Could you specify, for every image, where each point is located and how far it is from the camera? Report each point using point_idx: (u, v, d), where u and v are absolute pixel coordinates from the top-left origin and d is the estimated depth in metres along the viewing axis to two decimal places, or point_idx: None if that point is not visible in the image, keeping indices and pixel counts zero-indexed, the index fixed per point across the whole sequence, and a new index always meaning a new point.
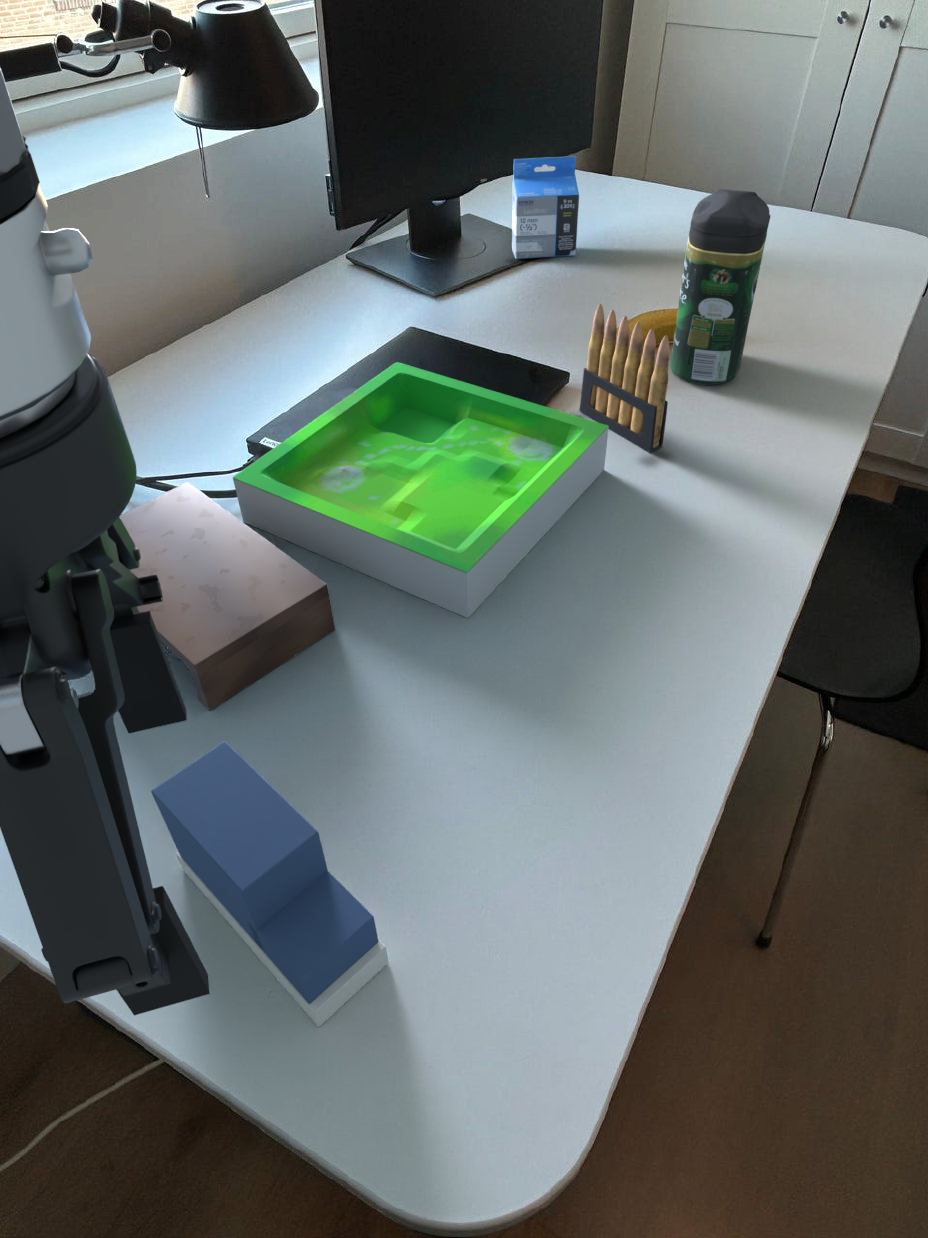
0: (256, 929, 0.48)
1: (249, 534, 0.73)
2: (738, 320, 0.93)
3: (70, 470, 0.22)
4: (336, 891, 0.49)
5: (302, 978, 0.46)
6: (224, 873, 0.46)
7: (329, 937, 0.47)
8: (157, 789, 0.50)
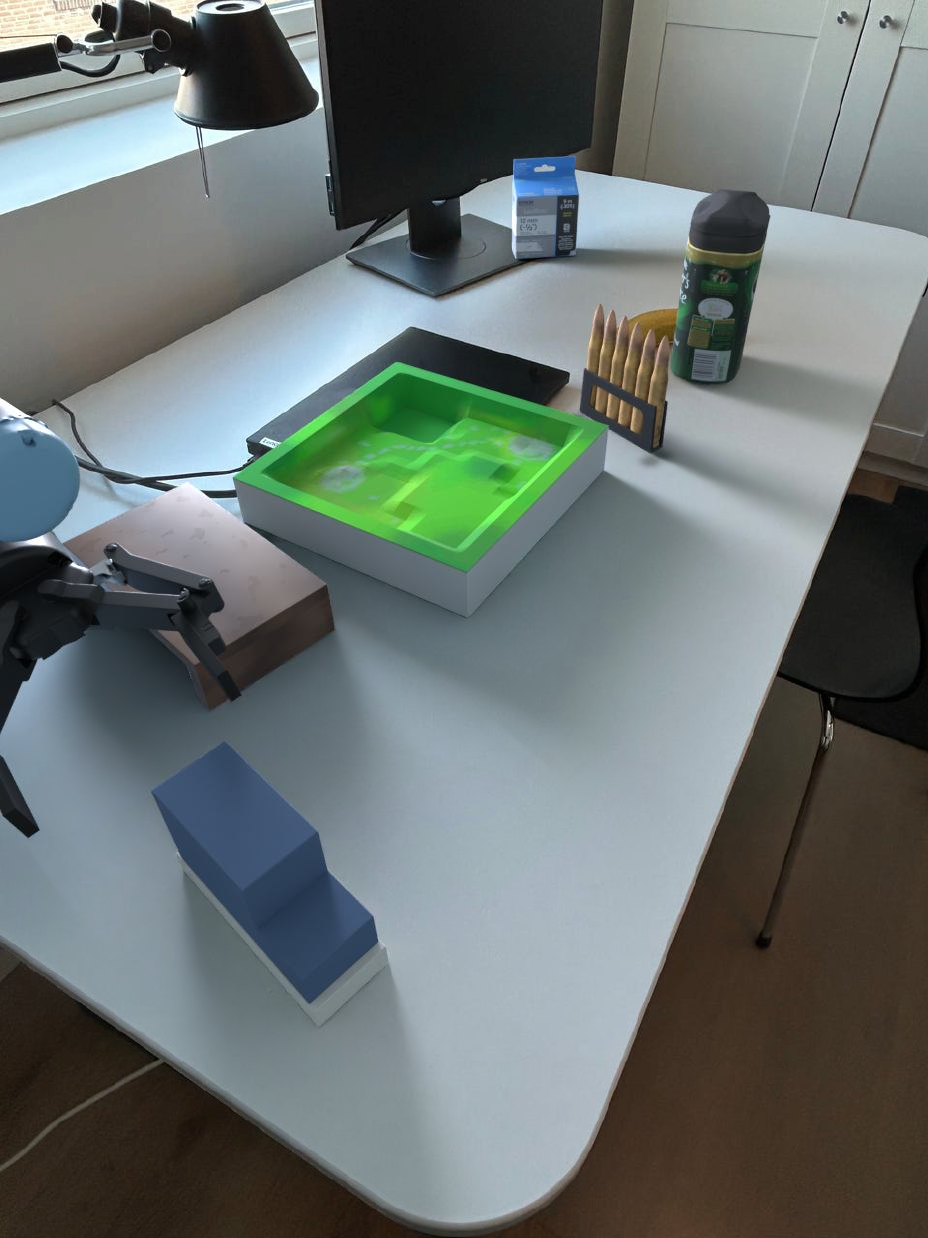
0: (256, 929, 0.48)
1: (249, 534, 0.73)
2: (738, 320, 0.93)
3: None
4: (336, 891, 0.49)
5: (302, 977, 0.46)
6: (224, 873, 0.46)
7: (328, 937, 0.47)
8: (157, 789, 0.50)
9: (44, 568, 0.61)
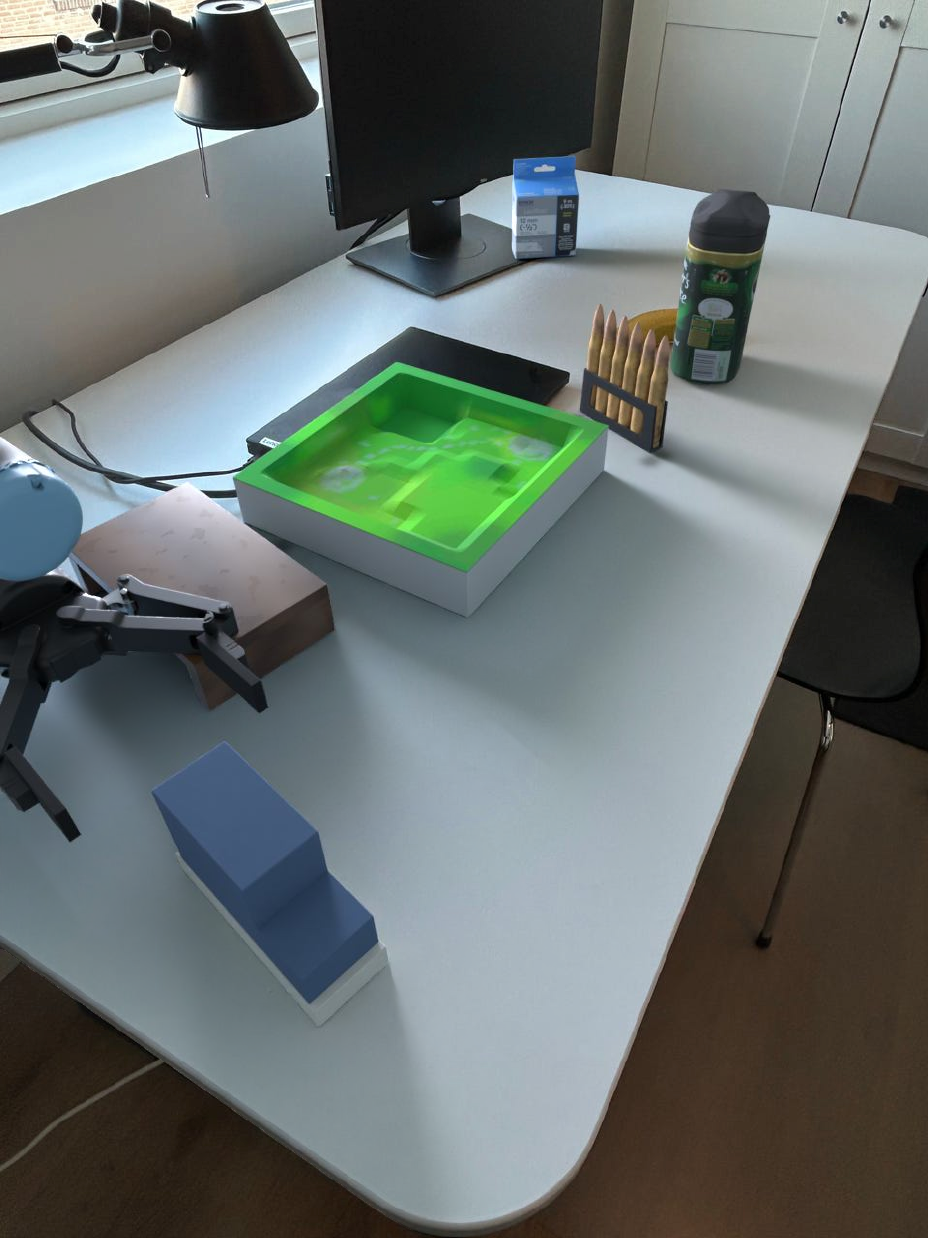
0: (256, 929, 0.48)
1: (249, 534, 0.73)
2: (738, 320, 0.93)
3: None
4: (336, 891, 0.49)
5: (302, 978, 0.46)
6: (224, 873, 0.46)
7: (329, 938, 0.47)
8: (157, 789, 0.50)
9: (57, 597, 0.63)
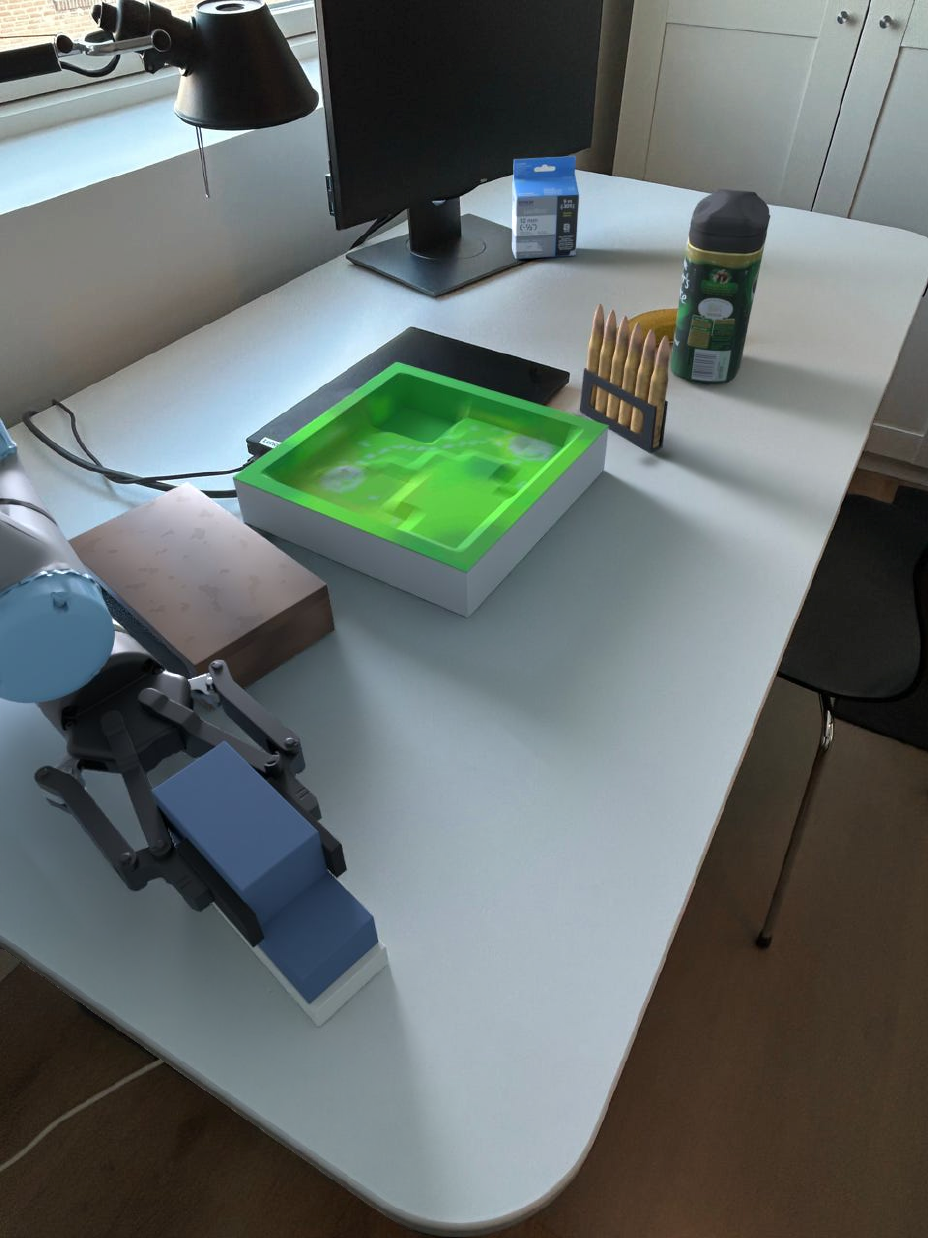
0: None
1: (249, 534, 0.73)
2: (738, 320, 0.93)
3: None
4: (336, 891, 0.49)
5: (302, 978, 0.46)
6: (224, 873, 0.46)
7: (329, 938, 0.47)
8: (157, 789, 0.50)
9: (136, 676, 0.57)
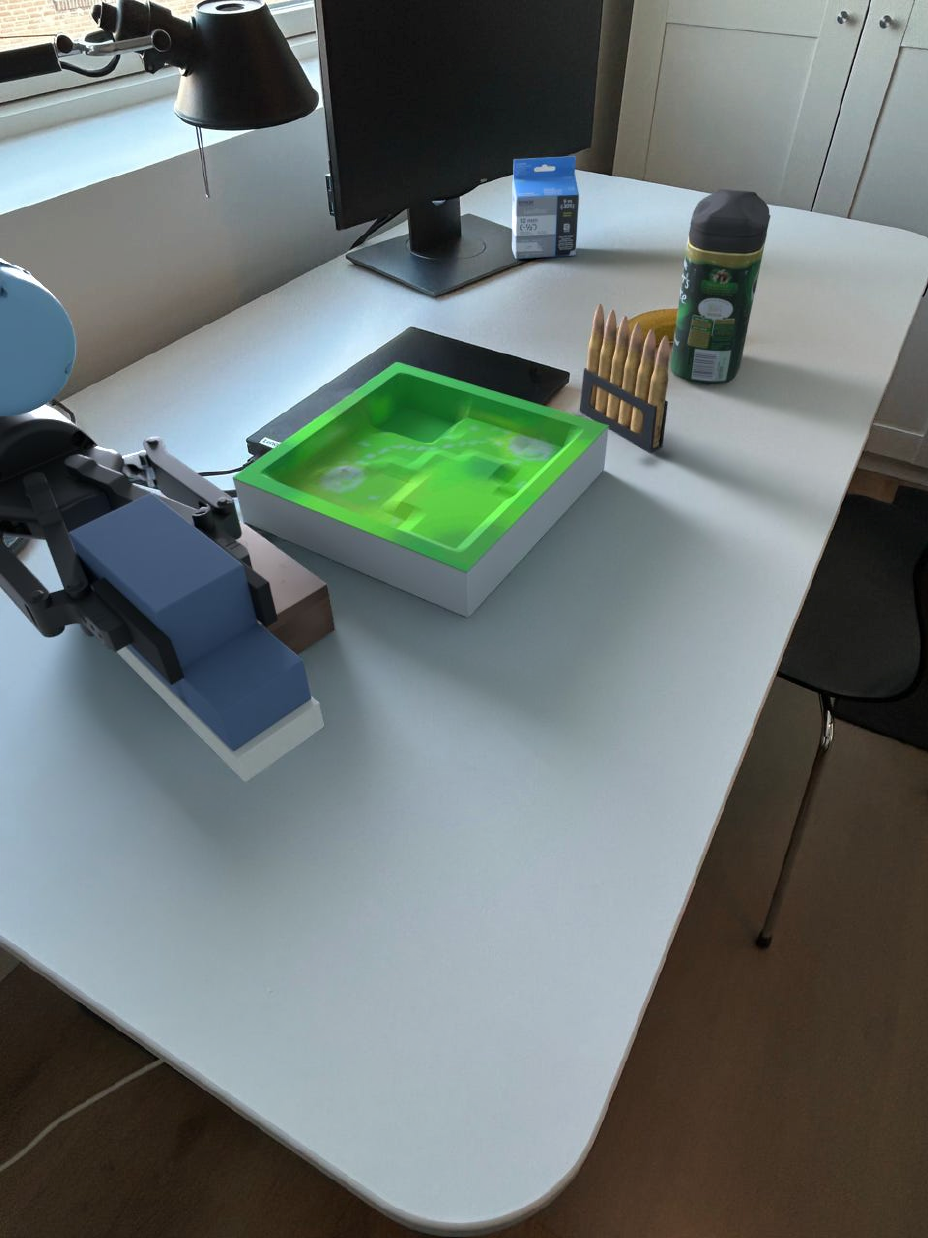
0: None
1: (249, 534, 0.73)
2: (738, 320, 0.93)
3: None
4: (265, 639, 0.46)
5: (221, 711, 0.42)
6: (138, 599, 0.42)
7: (253, 677, 0.44)
8: (75, 531, 0.46)
9: (66, 449, 0.54)
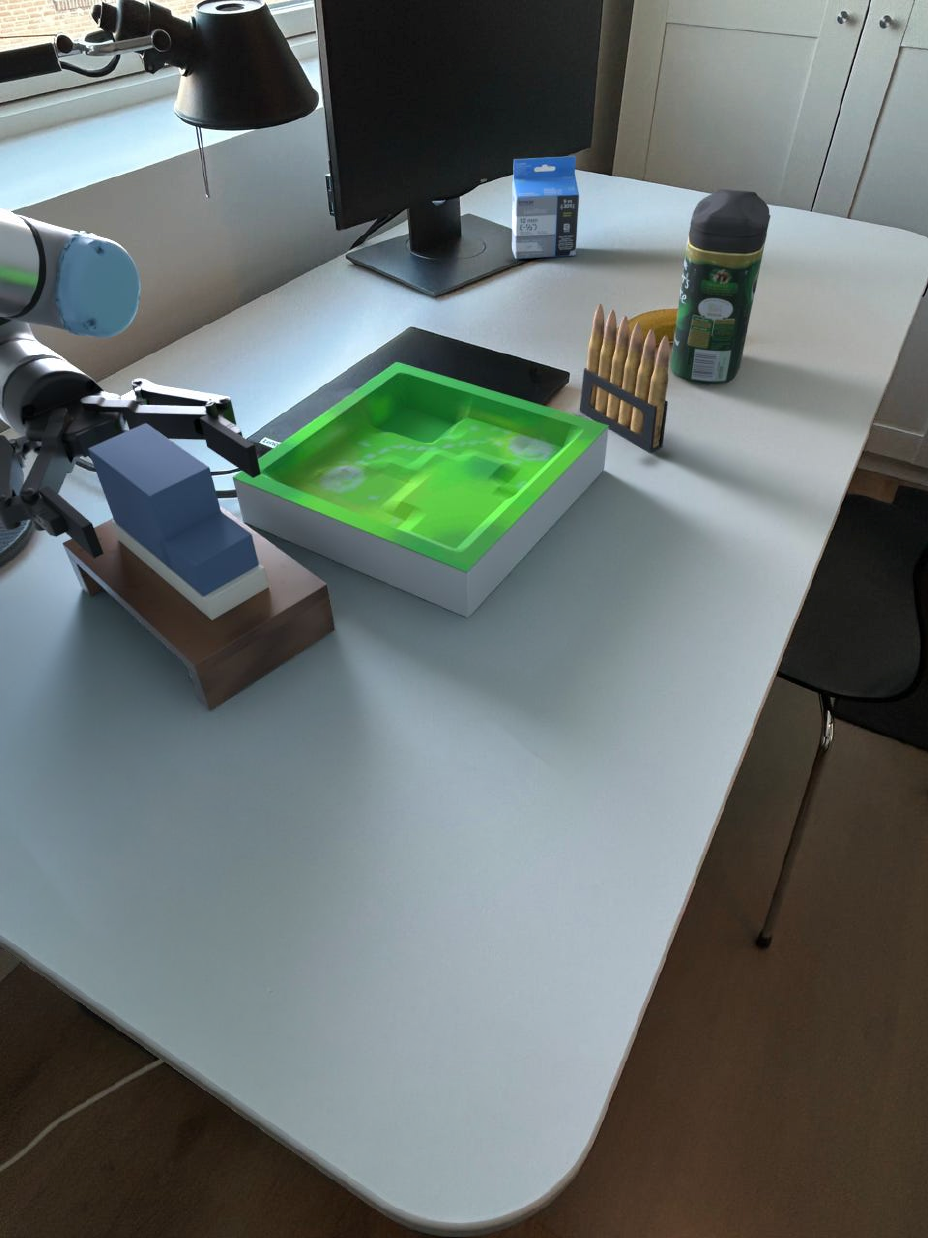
0: (164, 541, 0.64)
1: None
2: (738, 320, 0.93)
3: None
4: (226, 521, 0.66)
5: (194, 564, 0.62)
6: (137, 488, 0.62)
7: (217, 544, 0.64)
8: (92, 447, 0.66)
9: (81, 393, 0.74)
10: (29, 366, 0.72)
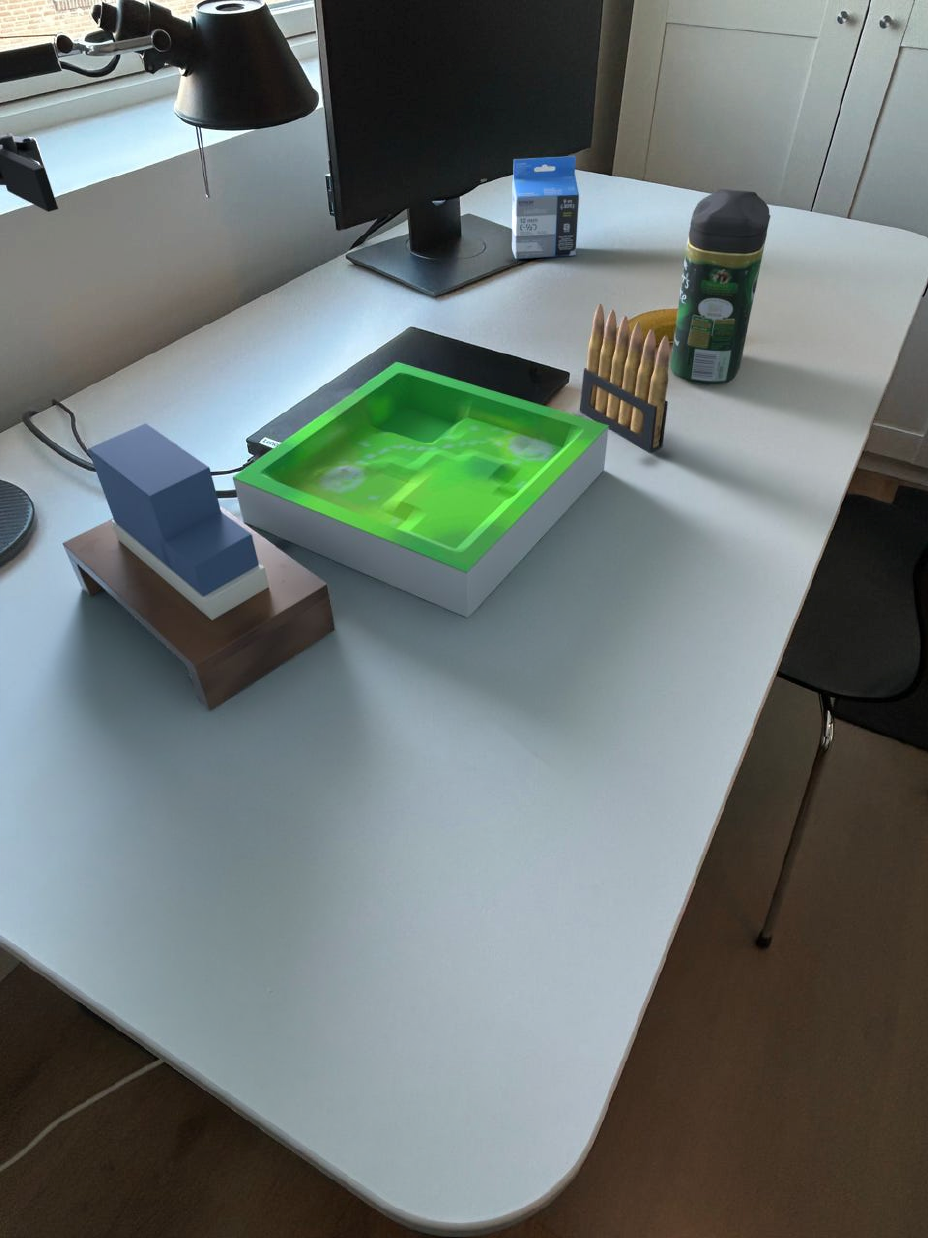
0: (164, 541, 0.64)
1: None
2: (738, 320, 0.93)
3: None
4: (226, 521, 0.66)
5: (194, 564, 0.62)
6: (137, 488, 0.62)
7: (217, 544, 0.64)
8: (92, 447, 0.66)
9: None
10: None
